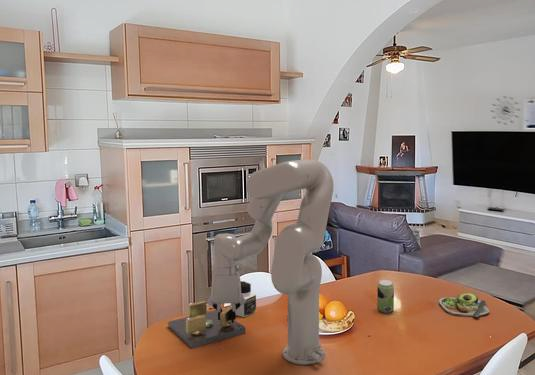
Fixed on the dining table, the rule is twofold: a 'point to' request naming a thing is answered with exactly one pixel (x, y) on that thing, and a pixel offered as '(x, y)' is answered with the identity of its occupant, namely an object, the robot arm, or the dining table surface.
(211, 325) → the plate
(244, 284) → the medicine bottle
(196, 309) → the olive open box
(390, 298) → the beverage can
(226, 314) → the knob
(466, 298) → the salad plate
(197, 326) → the knob
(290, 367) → the dining table surface
